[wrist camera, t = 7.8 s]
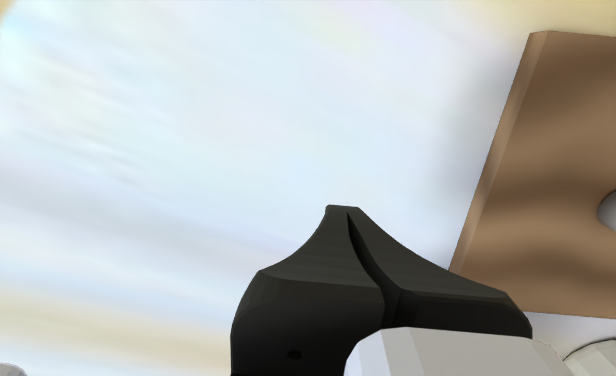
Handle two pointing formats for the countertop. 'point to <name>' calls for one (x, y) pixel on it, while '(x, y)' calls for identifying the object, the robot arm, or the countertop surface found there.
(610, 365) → the soap bottle
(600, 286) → the dial board
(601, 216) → the dial lever
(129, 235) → the countertop surface
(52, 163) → the countertop surface
